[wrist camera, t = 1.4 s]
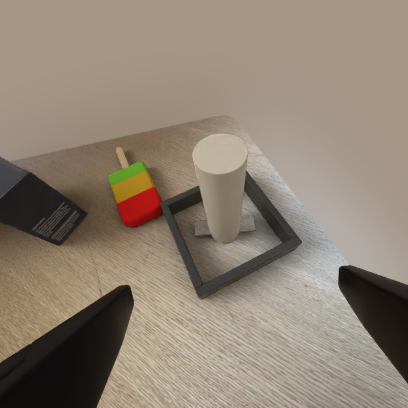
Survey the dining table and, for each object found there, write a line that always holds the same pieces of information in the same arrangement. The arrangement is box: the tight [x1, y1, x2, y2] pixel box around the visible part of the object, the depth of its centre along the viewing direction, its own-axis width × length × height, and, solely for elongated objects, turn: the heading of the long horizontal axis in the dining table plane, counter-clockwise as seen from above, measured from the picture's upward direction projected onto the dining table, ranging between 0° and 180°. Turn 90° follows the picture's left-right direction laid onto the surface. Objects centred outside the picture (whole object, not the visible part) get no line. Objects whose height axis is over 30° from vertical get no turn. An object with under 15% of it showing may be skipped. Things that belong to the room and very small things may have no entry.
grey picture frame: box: [160, 171, 302, 299], centre depth 23 cm, size 12×12×2 cm
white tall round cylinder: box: [193, 134, 256, 243], centre depth 18 cm, size 7×4×13 cm, turn 93°
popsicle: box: [108, 147, 163, 227], centre depth 29 cm, size 6×15×2 cm, turn 27°
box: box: [0, 157, 87, 246], centre depth 24 cm, size 9×6×10 cm, turn 62°
